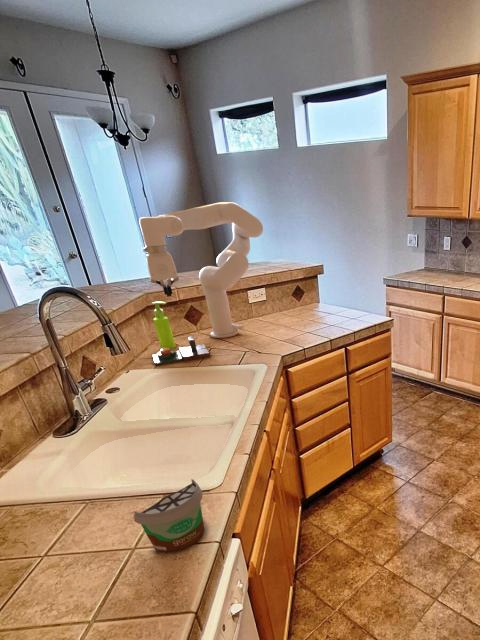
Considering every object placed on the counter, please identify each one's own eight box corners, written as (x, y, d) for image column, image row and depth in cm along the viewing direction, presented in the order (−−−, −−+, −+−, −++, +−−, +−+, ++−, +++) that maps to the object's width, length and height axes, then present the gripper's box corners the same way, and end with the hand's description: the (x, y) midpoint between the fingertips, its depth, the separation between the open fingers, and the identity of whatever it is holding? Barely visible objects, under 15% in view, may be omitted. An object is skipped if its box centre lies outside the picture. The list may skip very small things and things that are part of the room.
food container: (167, 568, 76) (151, 524, 71) (147, 555, 79) (130, 512, 74) (225, 527, 85) (214, 487, 81) (205, 517, 88) (194, 477, 84)
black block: (197, 351, 180) (194, 339, 177) (192, 352, 179) (189, 340, 176) (195, 348, 183) (192, 336, 181) (190, 349, 182) (187, 337, 180)
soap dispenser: (174, 349, 189) (161, 303, 180) (158, 349, 189) (145, 303, 180) (180, 345, 194) (168, 300, 185) (165, 345, 195) (153, 300, 185)
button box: (179, 353, 184) (177, 346, 183) (182, 361, 175) (180, 354, 173) (153, 357, 179) (151, 350, 178) (155, 365, 170) (153, 358, 169)
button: (170, 351, 178) (169, 347, 177) (171, 353, 175) (170, 349, 175) (160, 353, 177) (159, 349, 176) (161, 355, 174) (160, 351, 173)
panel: (204, 348, 190) (203, 343, 188) (210, 357, 179) (209, 352, 178) (180, 352, 185) (178, 347, 184) (184, 361, 174) (183, 356, 173)
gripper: (137, 252, 169) (150, 299, 177) (178, 249, 175) (189, 295, 184) (136, 250, 174) (149, 296, 183) (176, 248, 181) (186, 292, 190)
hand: (169, 296), depth 183 cm, fingers closed
